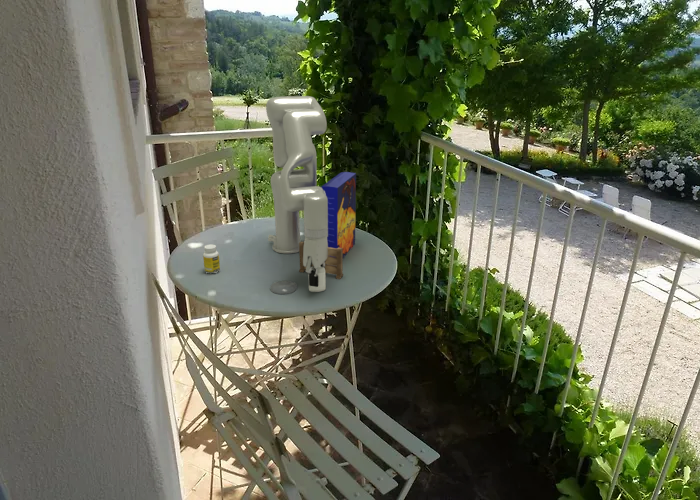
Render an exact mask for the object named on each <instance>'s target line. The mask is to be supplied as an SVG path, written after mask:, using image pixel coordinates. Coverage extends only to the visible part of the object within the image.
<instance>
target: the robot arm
mask: <svg viewBox="0 0 700 500" xmlns="http://www.w3.org/2000/svg"><path fill="white" fill-rule="evenodd" d="M265 111H266V116H267V118H268V119H267V120H268V122H269V124H270V127H271V130H272V145H273V146H272V147H273V150H272V151H273V161H274V164H275V165H276V167H278V168H280V169H281V168H282V169H281V170H278V171H275V172H273V174H271V177H270V186H271V191H272V197H273V202H274V203H273V204H274V205H273V206H274V220H275V221H274V222H275V223H274V224H275V234H274V235H273V234H268V237H267V239H268V242H271V243H272V242H273V244H272V250H273V251H274V252H276V253H279V254H285V255H286V254H295V253H296V254H297V253H299V243H300V242H301V226H300V225H301V224H300V212H301V211H303V220H304V221H303V225H304V229H303V230H304V231H303V232H304V241H303V242H304V249H303V266H304V267H306V266H307V267H306V270H305V272H306V273H307V276H308V275H309V281H308V286H309V285H310V286H314V287H318V275H317V271H318V267H319V266H321V267H324V268H325V262H326V259H327V257H328V242H327V237H328V199H327V196H326V193H325V191H324V190H323V189H322V186H320V185H319V186H318V185H317V183H318V182H317V178H318V175H317V170H318V169H317V168H318V167H317V151H316V147H315V144H314V143H313V139H312V136H317V135H318V136H319V135H324V134H325V132H326V131H327V125H328V124H327V123H328V122H327V117H326V115H325V111H324V110H323V108H322V106H321V104H319V102H318V101H317V99H316V98H315V97H314V96H309V95H298V96H297V95H294V96H292V95H291V96H290V95H289V96H288V95H287V96H276V97H271V98H269V99H268V100H267V101H266V107H265ZM300 167H302V168H300ZM297 168H298V169H297ZM299 168H300V169H299ZM312 265H314V266H312ZM311 268H312V269H315V272H314V271H313V270H311Z"/></svg>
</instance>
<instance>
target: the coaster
mask: <svg viewBox="0 0 700 500" xmlns="http://www.w3.org/2000/svg"><path fill="white" fill-rule="evenodd" d="M269 289H270V292H272V293H273V294H276V295H289V294H292V293H295V292H296V291H297V290H298V284H297V283H296V282H295V281H291V280H279V281H278V280H277V281H275V282H272V284H271V285H270V288H269Z"/></svg>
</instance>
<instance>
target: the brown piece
mask: <svg viewBox="0 0 700 500" xmlns="http://www.w3.org/2000/svg"><path fill="white" fill-rule="evenodd" d="M300 241H301V240H300ZM303 249H304V241H301V242H300V243H299V252H298V253H299V270H298V271H299V272H298V273H304V272H306V267H307V266H306V267H304V266H303ZM331 256H333V257H331ZM343 261H344V258H343V248H339V247H338V248H331V247H328V257H327V259H326V262H325V274H330V275H336V276H335V279H337V280H341V279H342V277H343V276H344V273H343V270H344V269H343V268H344V267H343V266H344V265H343V264H344V263H343ZM312 266H313V265H312Z"/></svg>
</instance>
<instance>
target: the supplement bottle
mask: <svg viewBox="0 0 700 500" xmlns="http://www.w3.org/2000/svg"><path fill="white" fill-rule="evenodd" d="M219 254H220V253H219V251H217V245H215V244H206V245H204V252H203V254H202V257H203V267H204V273H205V272H207V273H216V272H218V271H219V272H220V271H221V264H220V255H219ZM219 272H218V273H219ZM207 273H206V274H207ZM216 274H217V273H216Z"/></svg>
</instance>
